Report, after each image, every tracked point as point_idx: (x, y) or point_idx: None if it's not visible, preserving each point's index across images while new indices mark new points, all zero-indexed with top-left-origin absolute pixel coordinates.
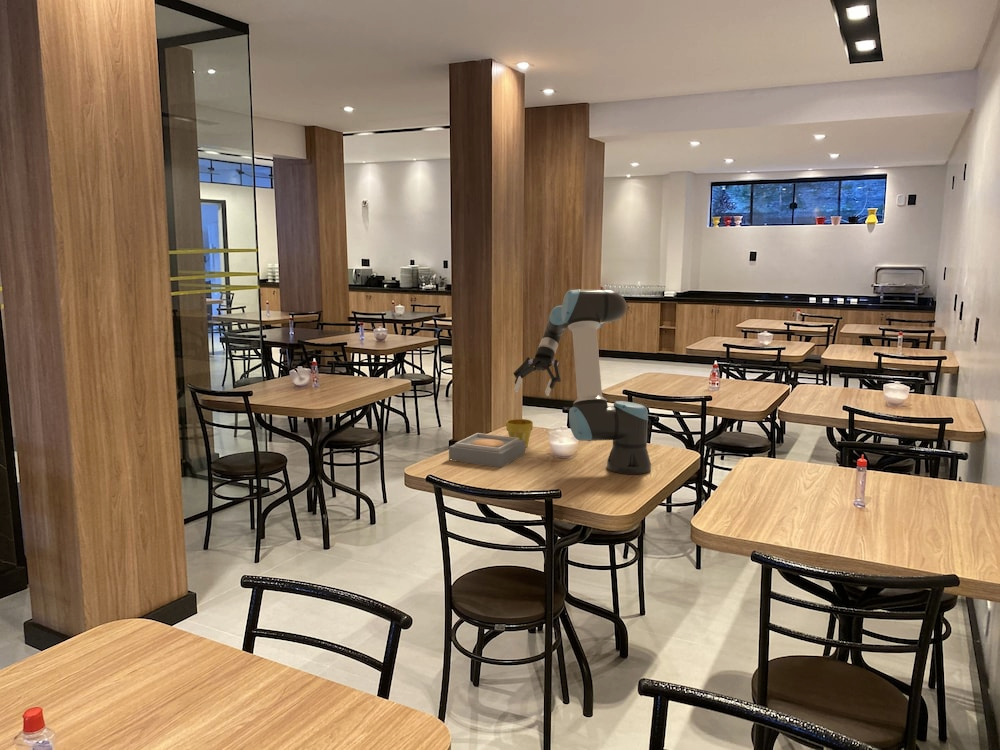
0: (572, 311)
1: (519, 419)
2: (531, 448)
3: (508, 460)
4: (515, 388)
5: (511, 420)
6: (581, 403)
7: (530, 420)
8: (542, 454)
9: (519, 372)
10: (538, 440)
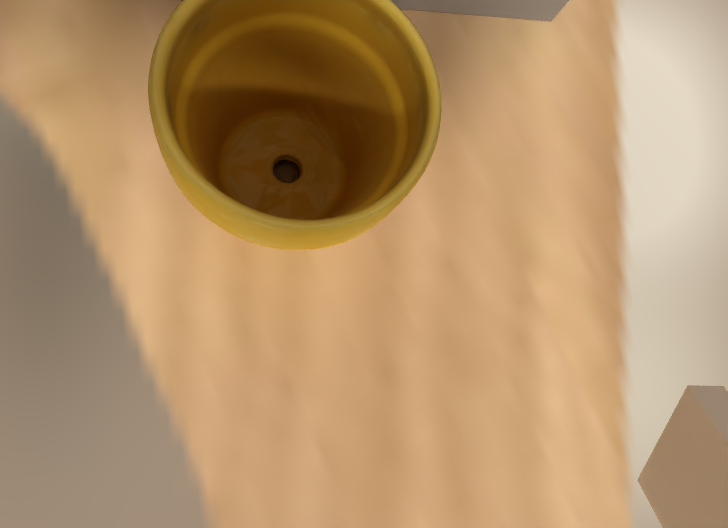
0: None
1: (354, 213)
2: None
3: None
4: (702, 398)
5: (418, 153)
6: None
7: (207, 190)
8: (11, 10)
9: None
10: (204, 425)
